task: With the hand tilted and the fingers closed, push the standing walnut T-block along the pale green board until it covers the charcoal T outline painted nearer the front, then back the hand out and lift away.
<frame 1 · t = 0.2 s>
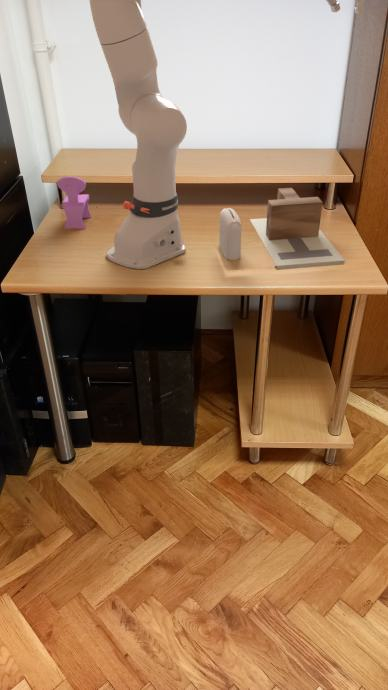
hand: (347, 12, 148), 53 cm above the table, tool tilted 25°, fingers open, 8 cm apart
board: (293, 242, 160), on the table
t block: (287, 229, 164), point 1 cm above the table, touching board
toy chair: (78, 223, 173), on the table
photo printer: (229, 255, 154), on the table
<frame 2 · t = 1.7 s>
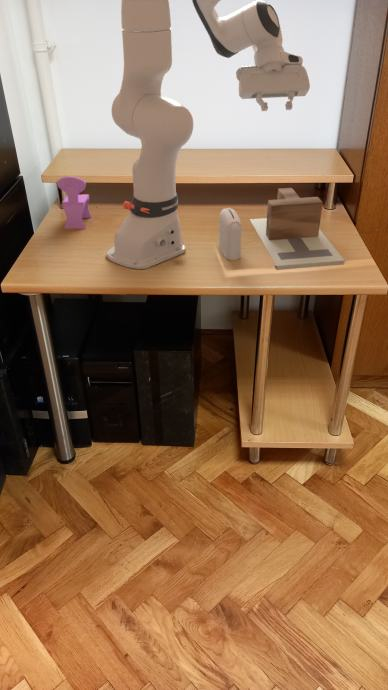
hand: (277, 109, 164), 29 cm above the table, tool tilted 45°, fingers open, 6 cm apart
nothing on the table moved.
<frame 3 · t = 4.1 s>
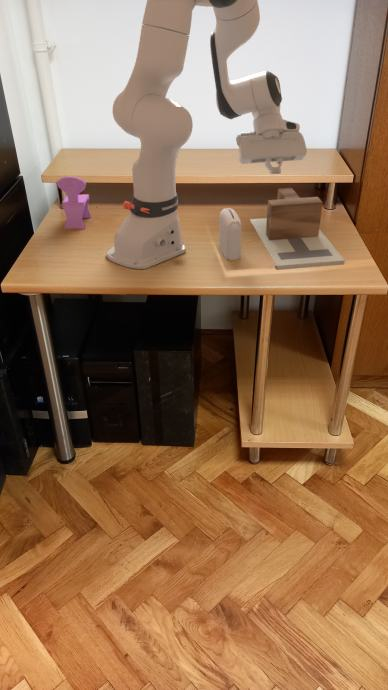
hand: (275, 174, 171), 12 cm above the table, tool tilted 45°, fingers closed
nothing on the table moved.
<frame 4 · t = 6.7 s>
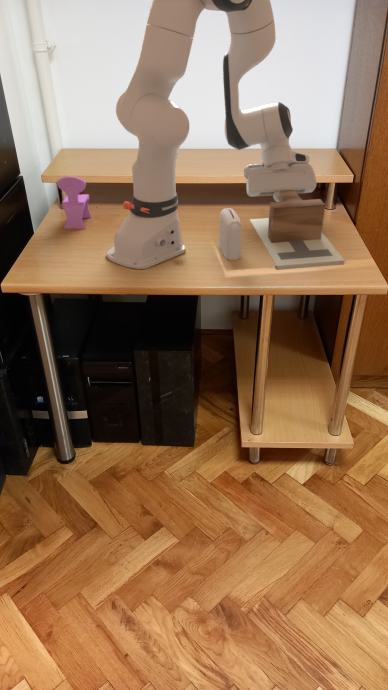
hand: (284, 207, 166), 6 cm above the table, tool tilted 45°, fingers closed, pressing on t block
t block: (289, 232, 163), point 1 cm above the table, touching gripper
everything else where it was.
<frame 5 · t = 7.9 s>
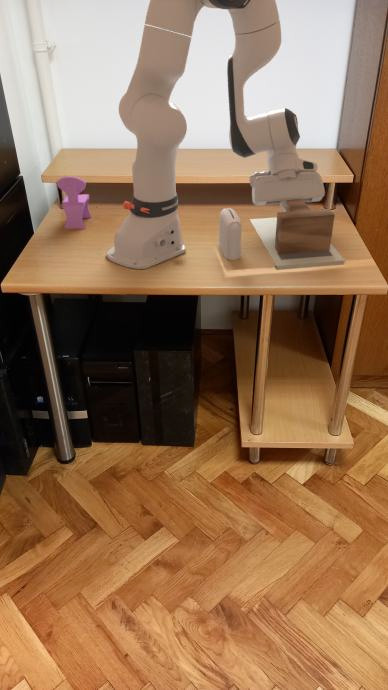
hand: (291, 217, 160), 6 cm above the table, tool tilted 45°, fingers closed, pressing on t block
t block: (297, 242, 157), point 1 cm above the table, touching gripper
everything else where it was.
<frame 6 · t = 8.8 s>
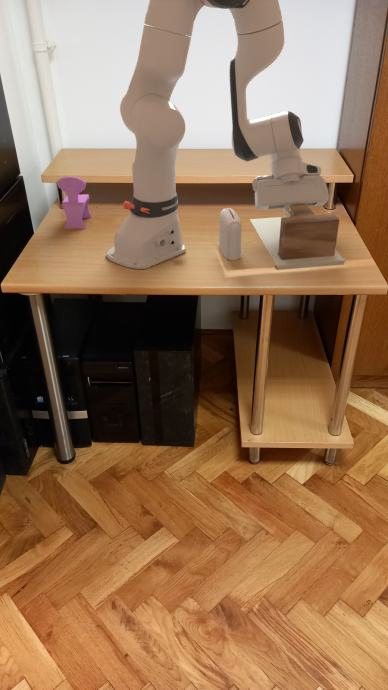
hand: (295, 221, 157), 6 cm above the table, tool tilted 45°, fingers closed, pressing on t block
t block: (301, 247, 155), point 1 cm above the table, touching gripper
everything else where it was.
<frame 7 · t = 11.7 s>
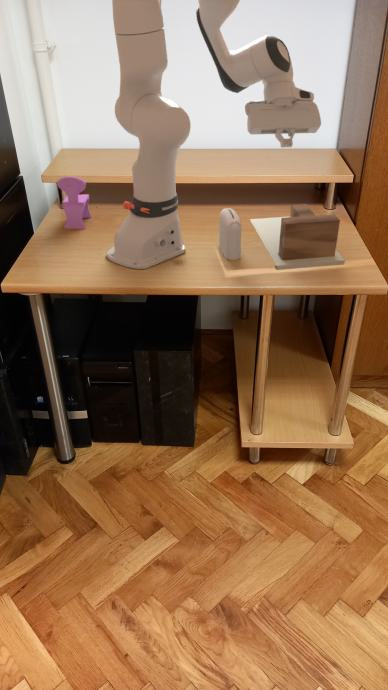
hand: (286, 146, 158), 23 cm above the table, tool tilted 45°, fingers closed
t block: (301, 248, 154), point 1 cm above the table, touching board
everything else where it was.
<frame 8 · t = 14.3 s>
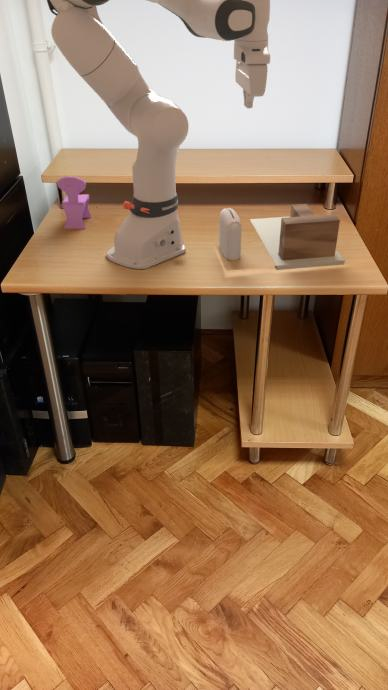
hand: (248, 107, 159), 31 cm above the table, tool pointing down, fingers closed
nothing on the table moved.
at the end: t block 0.4 cm from the target spot, point 1.2 cm above the table; t block tilted 0°; t block moved 12.3 cm from its start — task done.
